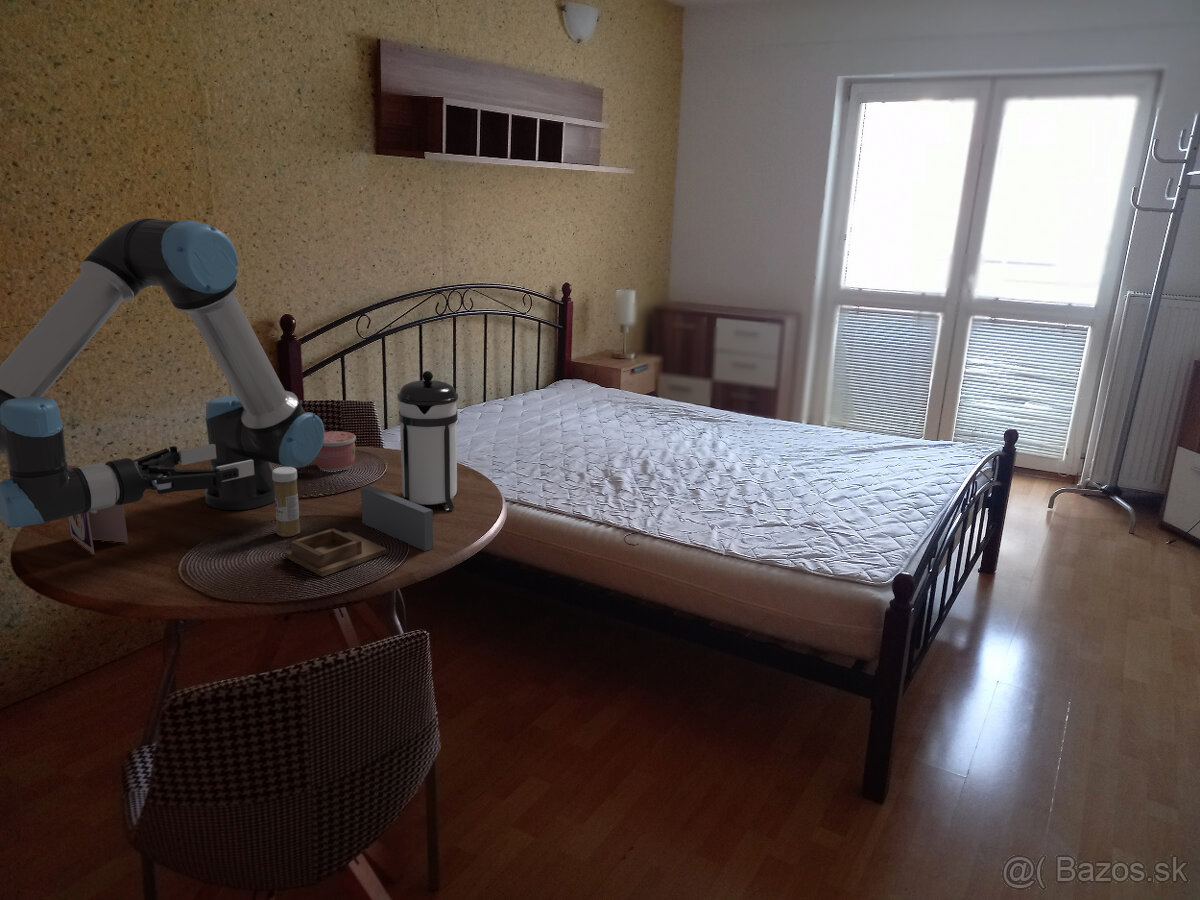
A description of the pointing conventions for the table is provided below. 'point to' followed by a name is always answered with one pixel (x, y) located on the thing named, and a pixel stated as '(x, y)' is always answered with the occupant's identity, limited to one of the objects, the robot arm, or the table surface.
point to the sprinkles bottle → (286, 501)
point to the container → (336, 451)
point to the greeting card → (98, 525)
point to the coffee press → (428, 441)
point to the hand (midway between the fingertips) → (233, 458)
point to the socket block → (332, 551)
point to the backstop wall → (397, 517)
